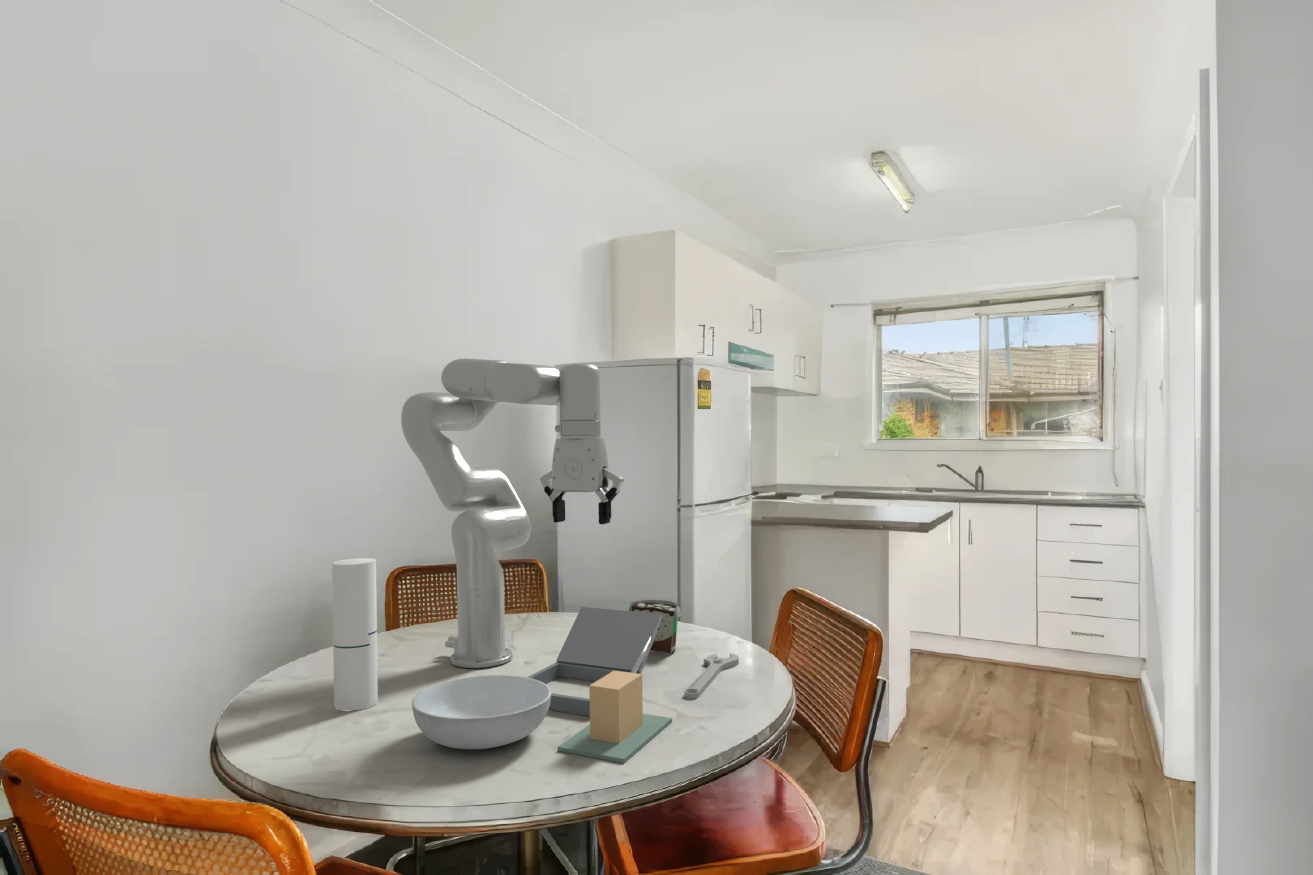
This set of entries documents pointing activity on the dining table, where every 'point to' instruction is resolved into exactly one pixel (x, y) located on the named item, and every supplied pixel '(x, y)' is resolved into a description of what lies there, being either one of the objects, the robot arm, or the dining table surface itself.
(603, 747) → the rubber mat
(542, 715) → the serving bowl
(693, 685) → the adjustable wrench
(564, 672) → the equipment case
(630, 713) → the block
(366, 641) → the cylindrical container
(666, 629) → the food container
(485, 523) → the robot arm
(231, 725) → the dining table surface
